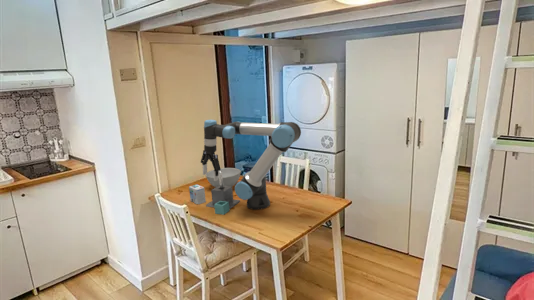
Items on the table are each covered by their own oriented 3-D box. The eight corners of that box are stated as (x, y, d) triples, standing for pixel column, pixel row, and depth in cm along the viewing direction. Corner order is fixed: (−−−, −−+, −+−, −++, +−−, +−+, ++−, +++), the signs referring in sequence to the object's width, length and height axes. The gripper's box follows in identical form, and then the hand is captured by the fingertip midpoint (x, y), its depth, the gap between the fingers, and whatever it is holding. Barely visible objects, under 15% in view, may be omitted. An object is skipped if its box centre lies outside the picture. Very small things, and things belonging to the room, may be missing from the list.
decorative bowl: (203, 186, 264) (201, 171, 261) (235, 180, 274) (233, 166, 272) (212, 196, 240) (211, 180, 237) (247, 189, 250) (245, 173, 248)
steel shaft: (224, 194, 222) (222, 171, 219) (222, 195, 220) (220, 172, 216) (221, 193, 223) (219, 170, 220) (219, 195, 221) (217, 171, 218)
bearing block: (240, 201, 225) (238, 186, 223) (229, 209, 213) (227, 193, 211) (217, 199, 233) (216, 183, 231) (206, 206, 221) (204, 190, 218)
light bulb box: (190, 201, 233) (188, 186, 230) (198, 198, 237) (197, 184, 234) (197, 204, 225) (195, 189, 222) (206, 202, 229) (204, 187, 226)
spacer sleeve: (229, 210, 211) (228, 201, 210) (223, 214, 205) (223, 205, 204) (220, 209, 214) (219, 200, 212) (215, 213, 208) (214, 204, 207)
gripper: (195, 141, 212) (195, 172, 218) (215, 150, 194) (215, 184, 199) (205, 140, 217) (205, 170, 222) (226, 148, 199) (226, 181, 204)
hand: (210, 177), depth 211 cm, fingers open, 13 cm apart
